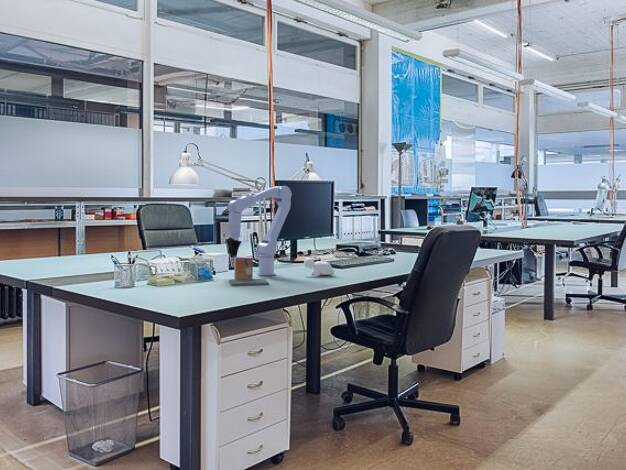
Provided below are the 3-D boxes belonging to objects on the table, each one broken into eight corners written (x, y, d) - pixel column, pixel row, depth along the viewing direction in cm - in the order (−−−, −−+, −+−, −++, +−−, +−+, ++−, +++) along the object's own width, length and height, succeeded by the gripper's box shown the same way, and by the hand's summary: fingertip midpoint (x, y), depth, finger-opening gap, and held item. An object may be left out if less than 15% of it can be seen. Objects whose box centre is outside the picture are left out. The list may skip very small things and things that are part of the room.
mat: (228, 281, 261) (228, 279, 261) (264, 280, 265) (264, 278, 265) (231, 286, 250) (231, 283, 250) (268, 284, 253) (268, 282, 253)
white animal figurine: (327, 280, 288) (299, 269, 285) (333, 264, 288) (305, 253, 285) (331, 283, 279) (302, 272, 276) (337, 266, 279) (308, 255, 276)
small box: (235, 281, 263) (234, 258, 262) (234, 279, 269) (234, 256, 268) (252, 280, 265) (252, 257, 264) (251, 279, 270) (251, 256, 270)
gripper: (223, 224, 279) (221, 253, 279) (228, 226, 265) (226, 255, 266) (238, 225, 281) (236, 253, 282) (243, 226, 267) (242, 256, 268)
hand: (232, 254), depth 274 cm, fingers open, 7 cm apart
